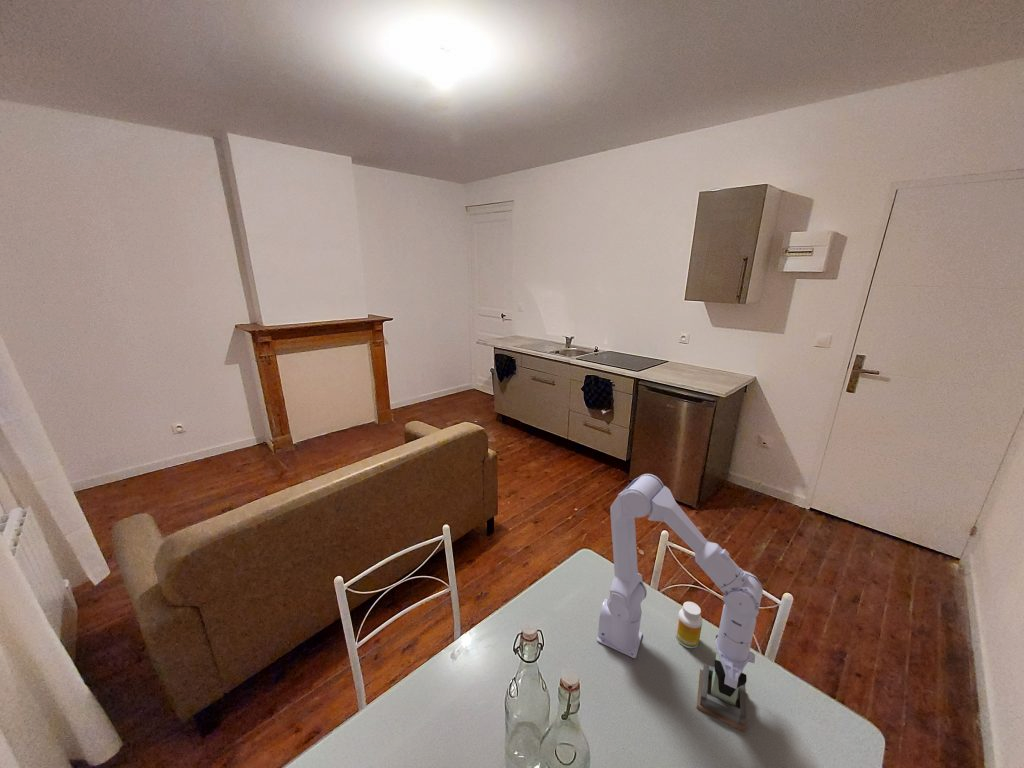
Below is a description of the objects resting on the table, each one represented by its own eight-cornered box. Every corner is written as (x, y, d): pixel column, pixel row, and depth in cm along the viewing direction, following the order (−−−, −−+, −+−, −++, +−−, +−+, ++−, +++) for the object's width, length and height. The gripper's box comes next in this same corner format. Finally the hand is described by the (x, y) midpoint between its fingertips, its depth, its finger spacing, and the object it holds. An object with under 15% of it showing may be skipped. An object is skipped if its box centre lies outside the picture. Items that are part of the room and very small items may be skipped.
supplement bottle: (701, 651, 93) (707, 619, 90) (677, 646, 94) (682, 614, 91) (695, 631, 98) (701, 600, 96) (673, 628, 99) (678, 597, 97)
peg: (711, 695, 81) (716, 665, 79) (712, 676, 84) (717, 648, 82) (734, 706, 79) (741, 676, 77) (734, 687, 82) (741, 658, 80)
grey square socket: (696, 708, 80) (698, 696, 80) (699, 671, 88) (701, 660, 87) (746, 732, 76) (749, 720, 75) (745, 692, 84) (747, 680, 83)
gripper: (761, 671, 69) (748, 726, 73) (757, 613, 81) (746, 662, 85) (717, 653, 73) (706, 706, 76) (719, 599, 85) (710, 647, 88)
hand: (725, 682), depth 81 cm, fingers closed on peg, 4 cm apart
